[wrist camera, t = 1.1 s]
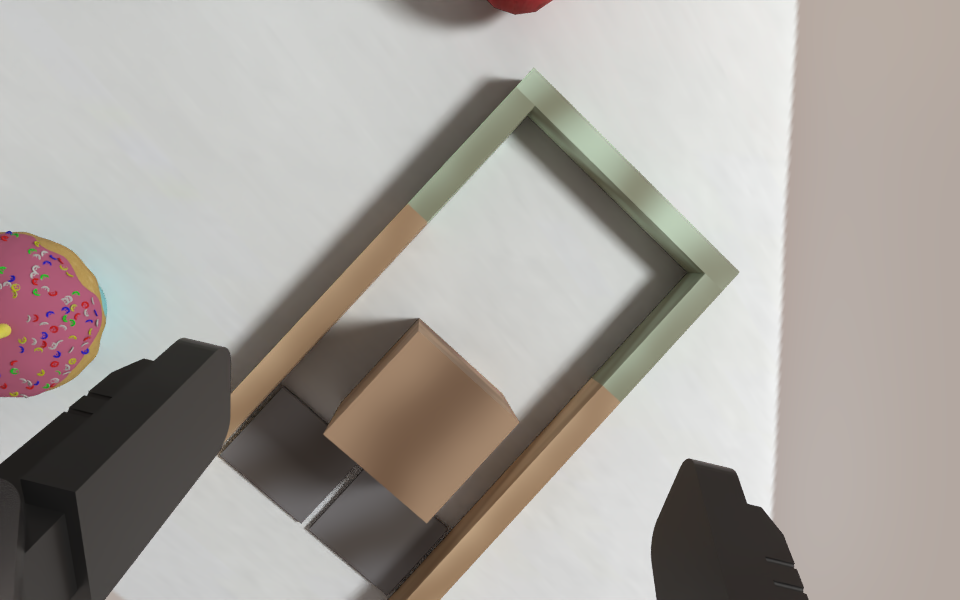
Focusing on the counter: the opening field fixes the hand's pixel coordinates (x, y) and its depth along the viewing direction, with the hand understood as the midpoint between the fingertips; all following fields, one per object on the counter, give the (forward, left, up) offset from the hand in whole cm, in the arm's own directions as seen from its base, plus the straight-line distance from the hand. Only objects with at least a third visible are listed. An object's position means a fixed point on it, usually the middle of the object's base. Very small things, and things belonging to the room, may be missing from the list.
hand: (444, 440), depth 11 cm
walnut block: (+3, -4, -27) cm, 28 cm away
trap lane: (+3, -1, -27) cm, 28 cm away
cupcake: (-16, -14, -28) cm, 35 cm away
